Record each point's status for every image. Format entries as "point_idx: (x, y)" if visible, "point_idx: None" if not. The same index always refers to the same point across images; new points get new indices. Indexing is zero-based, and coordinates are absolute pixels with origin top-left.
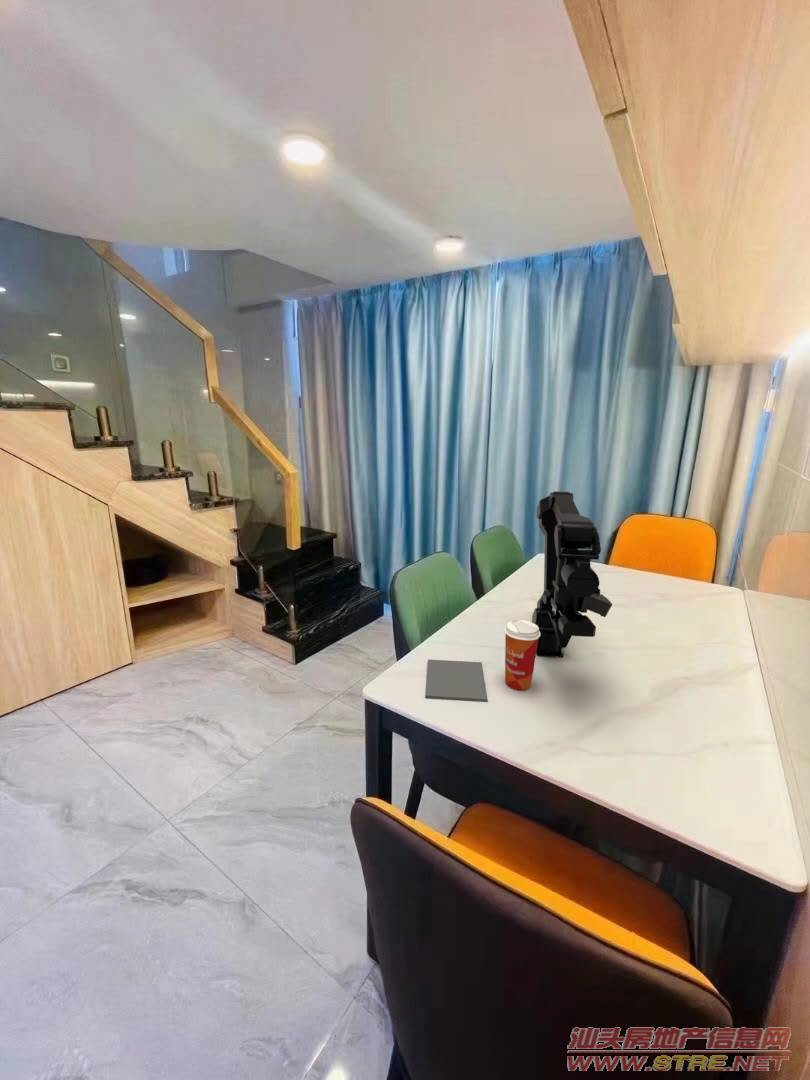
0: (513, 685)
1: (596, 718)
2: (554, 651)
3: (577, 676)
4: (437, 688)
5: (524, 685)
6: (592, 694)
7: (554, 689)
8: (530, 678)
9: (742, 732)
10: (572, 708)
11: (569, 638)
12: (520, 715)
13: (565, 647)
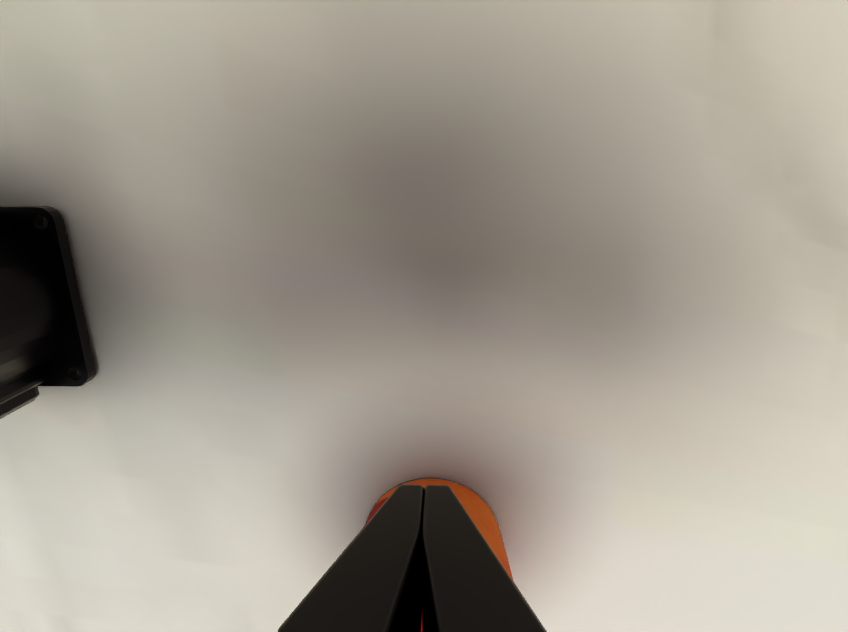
0: None
1: (767, 196)
2: (30, 276)
3: (300, 174)
4: None
5: (503, 543)
6: (513, 136)
7: (472, 362)
8: (488, 539)
9: None
10: (662, 309)
11: (528, 616)
12: (707, 567)
13: (452, 493)
